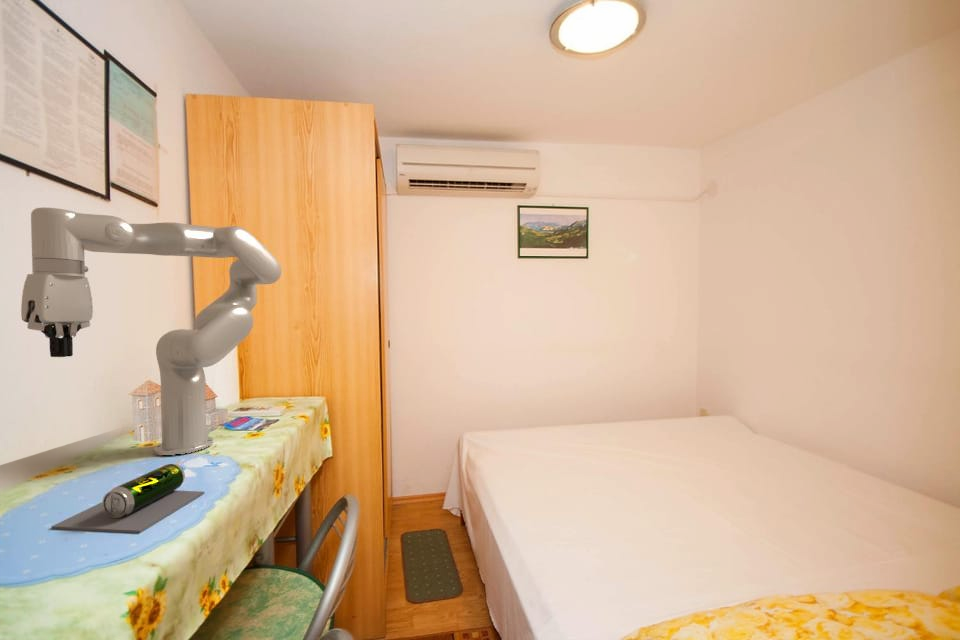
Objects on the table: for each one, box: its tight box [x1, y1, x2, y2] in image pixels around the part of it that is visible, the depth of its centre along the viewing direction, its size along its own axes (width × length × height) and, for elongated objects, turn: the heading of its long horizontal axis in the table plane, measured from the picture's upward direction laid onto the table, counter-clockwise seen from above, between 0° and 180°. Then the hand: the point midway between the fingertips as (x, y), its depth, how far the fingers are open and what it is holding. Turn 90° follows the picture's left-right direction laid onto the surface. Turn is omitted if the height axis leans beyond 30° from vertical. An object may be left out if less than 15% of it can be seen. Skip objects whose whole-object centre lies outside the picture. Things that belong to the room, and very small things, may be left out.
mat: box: [51, 489, 205, 534], centre depth 73 cm, size 14×16×1 cm
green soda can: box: [101, 463, 186, 518], centre depth 75 cm, size 5×5×12 cm
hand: (61, 356), depth 83 cm, fingers closed
